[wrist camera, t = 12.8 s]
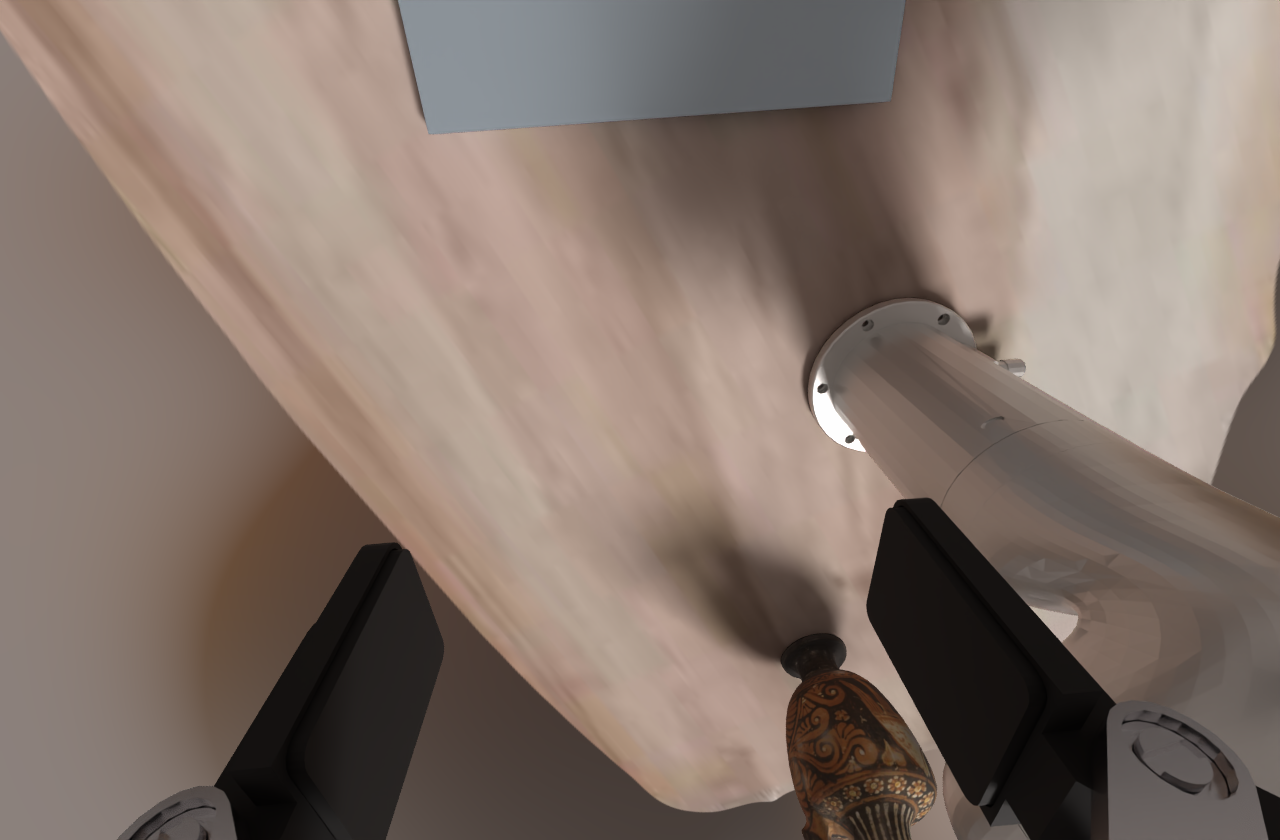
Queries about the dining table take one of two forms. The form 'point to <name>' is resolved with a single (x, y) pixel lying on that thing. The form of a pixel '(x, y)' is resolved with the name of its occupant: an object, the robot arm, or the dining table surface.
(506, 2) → the carrier board
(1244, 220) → the dining table surface
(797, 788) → the vase
